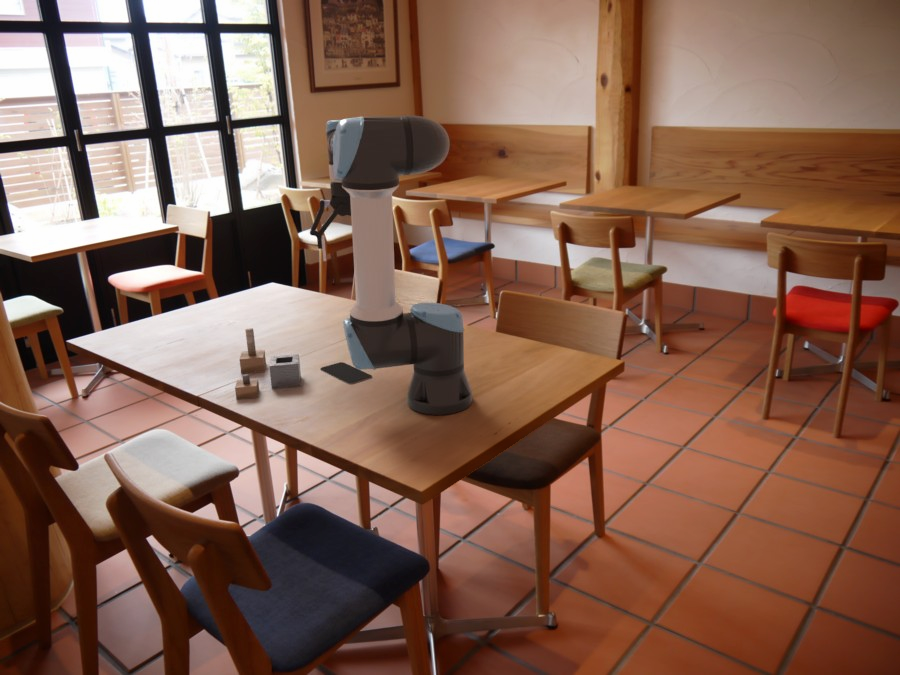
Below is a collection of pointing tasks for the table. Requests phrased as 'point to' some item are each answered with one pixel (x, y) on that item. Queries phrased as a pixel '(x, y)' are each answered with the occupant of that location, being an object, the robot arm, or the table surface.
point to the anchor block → (247, 388)
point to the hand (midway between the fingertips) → (349, 258)
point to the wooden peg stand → (252, 356)
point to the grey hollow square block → (285, 371)
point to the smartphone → (346, 373)
